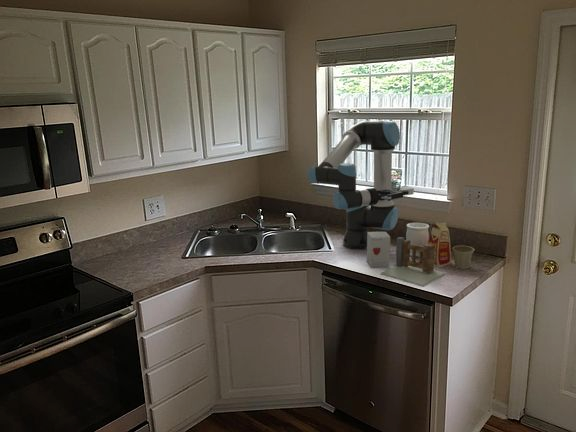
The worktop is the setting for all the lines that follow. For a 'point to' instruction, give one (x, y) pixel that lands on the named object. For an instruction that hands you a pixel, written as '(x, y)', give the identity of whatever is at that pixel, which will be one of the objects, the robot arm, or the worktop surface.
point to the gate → (425, 256)
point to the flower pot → (462, 256)
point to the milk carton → (441, 244)
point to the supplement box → (378, 249)
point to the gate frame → (409, 270)
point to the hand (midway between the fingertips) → (412, 191)
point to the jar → (417, 235)
